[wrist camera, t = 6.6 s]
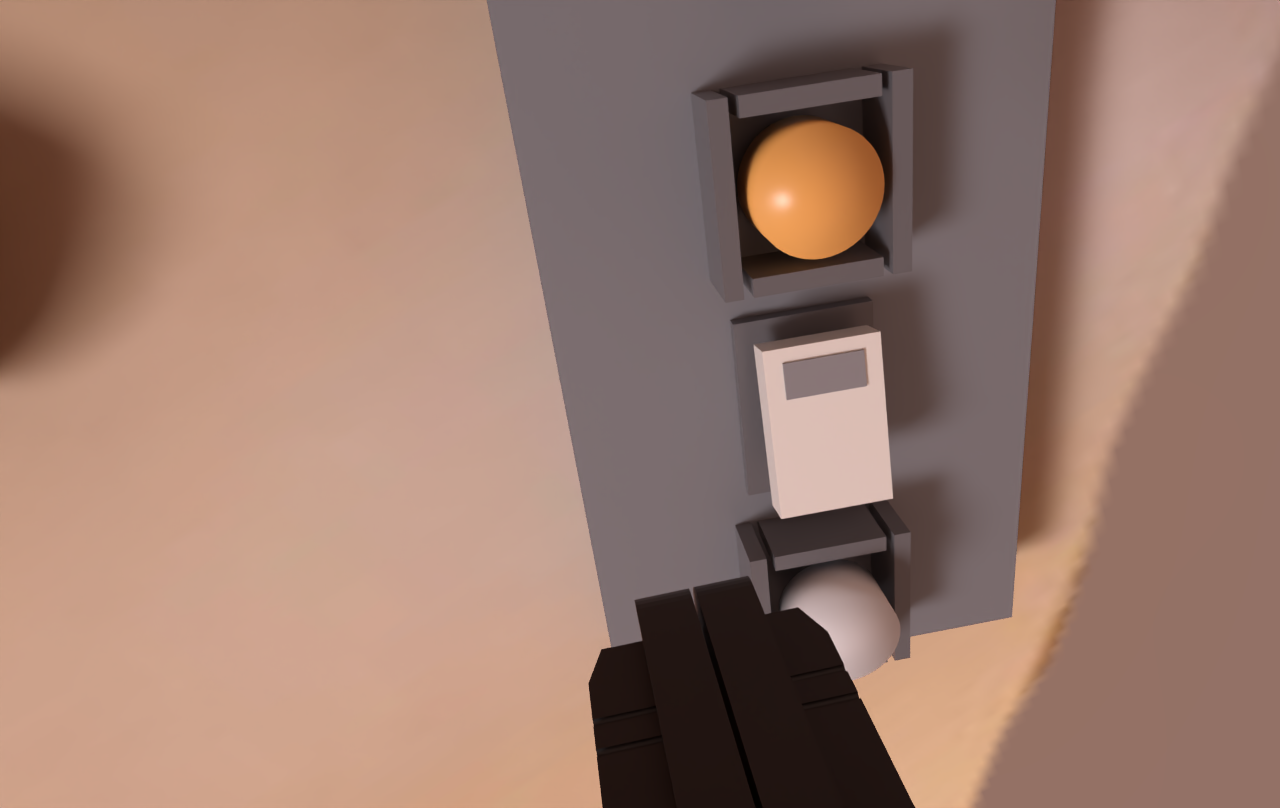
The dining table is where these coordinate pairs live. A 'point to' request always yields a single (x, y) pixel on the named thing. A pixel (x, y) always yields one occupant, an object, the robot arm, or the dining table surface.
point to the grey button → (847, 612)
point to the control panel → (785, 279)
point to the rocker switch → (825, 420)
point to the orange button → (810, 186)
